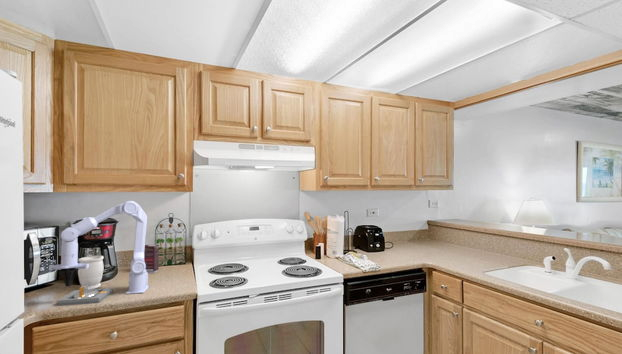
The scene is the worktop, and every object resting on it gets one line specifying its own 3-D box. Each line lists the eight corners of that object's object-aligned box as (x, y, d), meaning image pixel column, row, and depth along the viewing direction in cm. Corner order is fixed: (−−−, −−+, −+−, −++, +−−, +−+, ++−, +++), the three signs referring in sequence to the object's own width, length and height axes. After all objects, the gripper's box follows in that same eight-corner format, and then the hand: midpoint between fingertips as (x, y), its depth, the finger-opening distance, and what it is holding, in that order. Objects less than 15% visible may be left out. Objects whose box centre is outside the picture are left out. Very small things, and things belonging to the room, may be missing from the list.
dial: (80, 293, 139) (81, 282, 139) (102, 292, 141) (102, 280, 141) (69, 300, 130) (69, 288, 130) (92, 299, 132) (92, 287, 132)
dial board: (74, 294, 140) (74, 289, 140) (112, 292, 143) (112, 287, 144) (57, 305, 128) (57, 299, 128) (98, 302, 131) (98, 297, 131)
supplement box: (158, 270, 180) (159, 244, 181) (154, 273, 175) (154, 246, 176) (145, 270, 181) (145, 244, 181) (140, 272, 176) (140, 245, 176)
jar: (104, 287, 150) (105, 257, 150) (78, 292, 143) (79, 261, 144) (101, 282, 158) (102, 254, 158) (76, 287, 151) (77, 257, 152)
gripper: (44, 257, 127) (43, 289, 126) (83, 256, 130) (82, 287, 129) (55, 253, 134) (54, 284, 133) (91, 252, 137) (90, 282, 136)
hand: (68, 285), depth 132 cm, fingers closed
